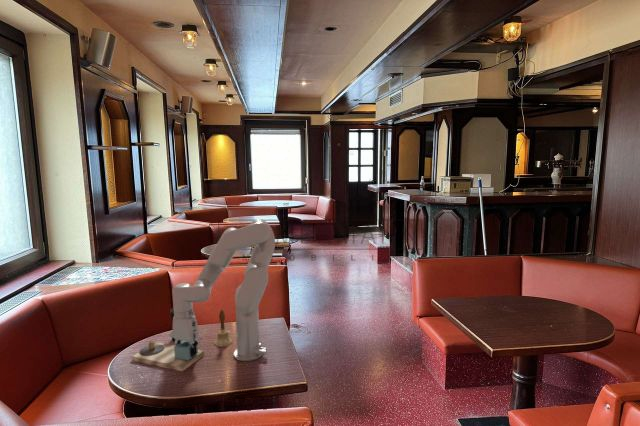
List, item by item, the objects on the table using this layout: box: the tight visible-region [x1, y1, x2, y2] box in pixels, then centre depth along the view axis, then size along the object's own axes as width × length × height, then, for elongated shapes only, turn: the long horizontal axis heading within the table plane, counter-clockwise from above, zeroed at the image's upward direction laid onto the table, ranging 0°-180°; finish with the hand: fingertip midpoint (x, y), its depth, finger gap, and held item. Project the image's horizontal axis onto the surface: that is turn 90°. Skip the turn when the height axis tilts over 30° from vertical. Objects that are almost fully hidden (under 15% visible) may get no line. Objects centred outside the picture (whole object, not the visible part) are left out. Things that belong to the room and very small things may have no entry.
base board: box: [131, 340, 205, 372], centre depth 161 cm, size 27×14×6 cm, turn 70°
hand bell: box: [213, 309, 233, 348], centre depth 174 cm, size 8×8×16 cm
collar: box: [174, 340, 199, 360], centre depth 157 cm, size 7×7×5 cm
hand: (186, 353), depth 158 cm, fingers closed on collar, 6 cm apart
